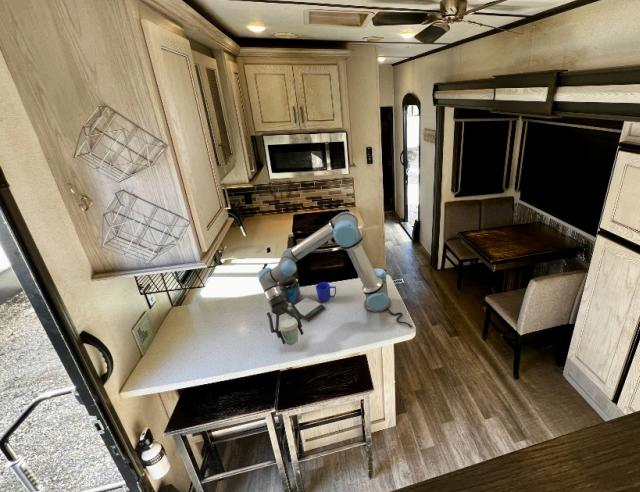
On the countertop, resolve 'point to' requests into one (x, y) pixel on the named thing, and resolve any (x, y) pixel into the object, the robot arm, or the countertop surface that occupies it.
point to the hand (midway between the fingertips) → (293, 338)
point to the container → (290, 289)
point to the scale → (308, 308)
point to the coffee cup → (289, 330)
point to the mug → (324, 291)
